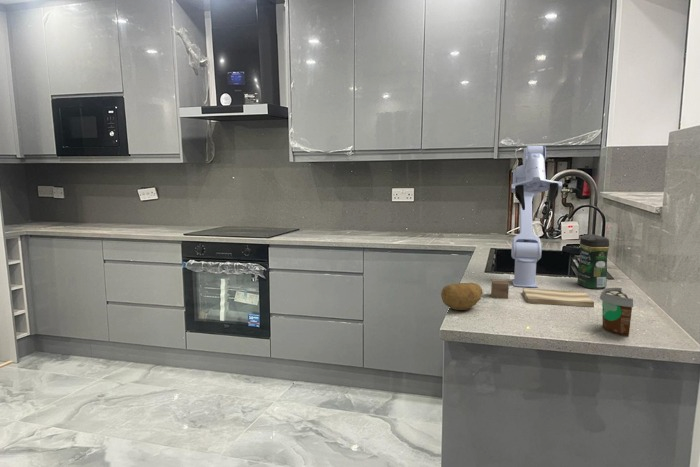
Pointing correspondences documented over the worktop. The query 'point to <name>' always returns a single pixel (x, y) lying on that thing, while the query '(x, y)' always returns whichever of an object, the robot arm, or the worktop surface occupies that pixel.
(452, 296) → the potato
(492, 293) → the walnut cube
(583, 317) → the worktop surface
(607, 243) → the coffee jar
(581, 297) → the oak board
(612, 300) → the food container
